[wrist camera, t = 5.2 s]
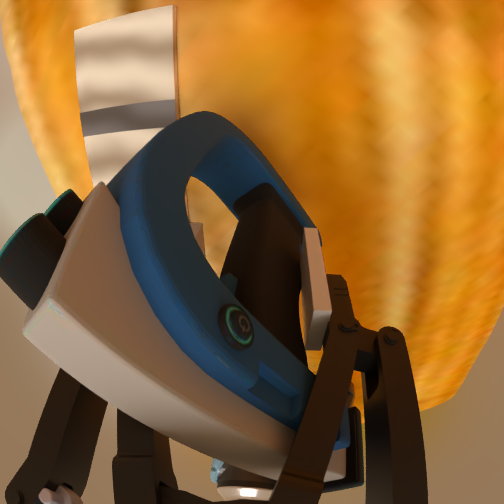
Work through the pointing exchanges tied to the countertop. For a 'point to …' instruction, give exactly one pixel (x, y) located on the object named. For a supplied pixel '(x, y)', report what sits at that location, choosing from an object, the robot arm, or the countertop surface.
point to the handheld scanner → (182, 301)
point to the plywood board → (126, 86)
